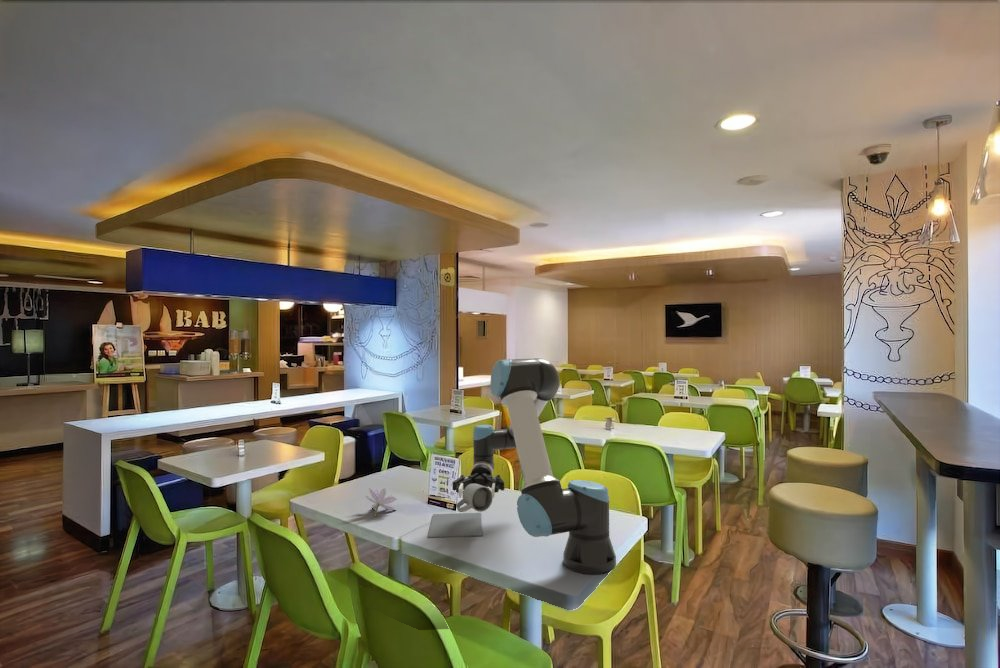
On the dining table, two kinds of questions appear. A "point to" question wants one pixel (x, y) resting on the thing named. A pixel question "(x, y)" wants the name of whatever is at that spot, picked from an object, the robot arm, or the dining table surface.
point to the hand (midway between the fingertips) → (476, 493)
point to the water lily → (381, 499)
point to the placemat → (455, 525)
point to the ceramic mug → (475, 498)
